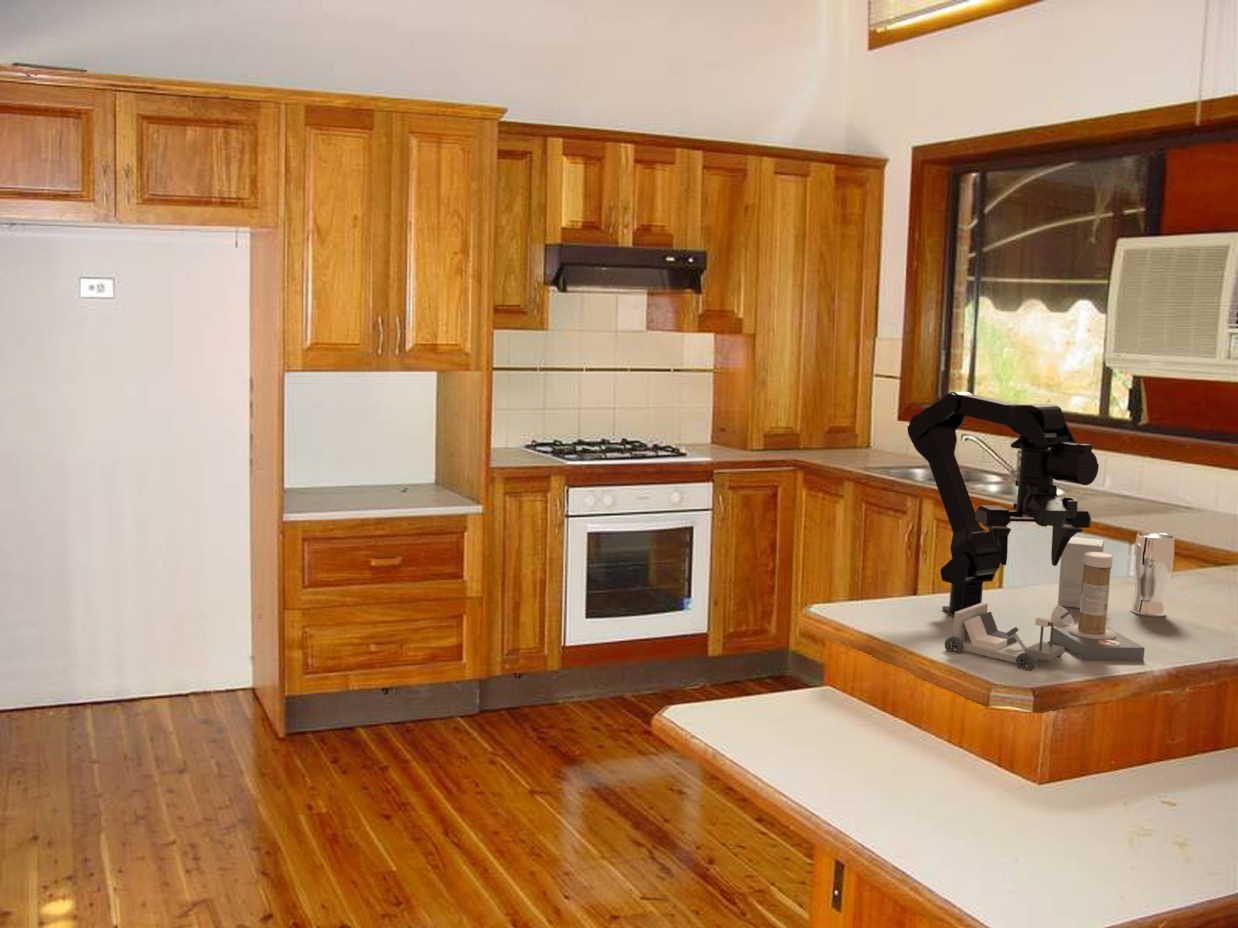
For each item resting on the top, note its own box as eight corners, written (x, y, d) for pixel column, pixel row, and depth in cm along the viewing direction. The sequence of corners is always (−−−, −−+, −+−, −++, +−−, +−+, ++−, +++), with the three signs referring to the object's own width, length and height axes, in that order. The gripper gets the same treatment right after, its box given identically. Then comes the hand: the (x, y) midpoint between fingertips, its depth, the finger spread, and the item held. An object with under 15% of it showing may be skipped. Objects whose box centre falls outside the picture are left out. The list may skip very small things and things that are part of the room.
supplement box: (1100, 603, 244) (1105, 539, 243) (1097, 611, 238) (1103, 545, 236) (1060, 597, 247) (1065, 535, 246) (1056, 605, 241) (1061, 541, 239)
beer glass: (1128, 614, 236) (1135, 536, 234) (1128, 606, 242) (1135, 530, 240) (1168, 619, 233) (1176, 540, 231) (1167, 610, 240) (1175, 534, 238)
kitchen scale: (1052, 639, 216) (1053, 625, 216) (1107, 640, 217) (1108, 625, 217) (1085, 660, 204) (1086, 644, 204) (1143, 660, 205) (1144, 645, 205)
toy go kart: (1083, 604, 202) (1054, 616, 194) (1078, 663, 204) (1048, 678, 195) (980, 584, 214) (947, 595, 206) (976, 640, 216) (943, 652, 207)
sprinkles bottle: (1086, 626, 216) (1093, 549, 214) (1111, 632, 212) (1118, 554, 210) (1071, 630, 213) (1078, 552, 211) (1096, 636, 209) (1103, 557, 207)
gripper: (1003, 483, 208) (996, 575, 210) (1110, 485, 210) (1102, 576, 212) (977, 473, 219) (970, 560, 221) (1079, 475, 221) (1071, 561, 223)
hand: (1029, 565), depth 219 cm, fingers open, 9 cm apart
